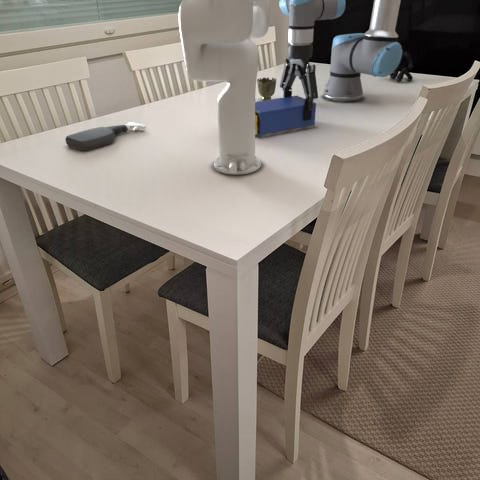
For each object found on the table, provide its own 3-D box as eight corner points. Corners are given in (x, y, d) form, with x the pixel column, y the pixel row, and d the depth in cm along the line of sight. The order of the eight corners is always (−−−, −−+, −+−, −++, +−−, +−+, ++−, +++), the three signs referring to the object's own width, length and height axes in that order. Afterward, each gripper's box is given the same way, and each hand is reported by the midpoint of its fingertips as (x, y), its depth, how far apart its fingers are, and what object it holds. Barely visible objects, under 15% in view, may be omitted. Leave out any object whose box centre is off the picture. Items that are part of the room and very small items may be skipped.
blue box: (260, 137, 138) (260, 112, 134) (243, 127, 147) (243, 103, 143) (314, 127, 146) (316, 103, 142) (295, 118, 155) (296, 95, 150)
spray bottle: (63, 145, 135) (128, 126, 151) (84, 153, 129) (149, 132, 145) (61, 135, 134) (127, 117, 150) (83, 143, 128) (148, 123, 144)
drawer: (238, 138, 136) (238, 118, 132) (224, 129, 143) (223, 110, 140) (305, 125, 145) (306, 107, 142) (288, 117, 152) (289, 99, 149)
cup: (253, 101, 174) (253, 80, 169) (261, 97, 179) (262, 76, 175) (271, 103, 171) (271, 82, 166) (279, 99, 176) (279, 78, 172)
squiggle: (400, 92, 202) (376, 71, 205) (417, 76, 202) (392, 56, 205) (405, 81, 191) (380, 59, 194) (423, 64, 191) (397, 42, 194)
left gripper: (261, 55, 124) (261, 120, 134) (237, 46, 135) (238, 107, 145) (237, 58, 121) (238, 124, 131) (214, 49, 132) (217, 110, 142)
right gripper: (334, 47, 128) (327, 122, 140) (289, 38, 146) (287, 105, 158) (312, 50, 125) (307, 126, 137) (270, 39, 143) (268, 108, 155)
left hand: (238, 115), depth 138 cm, fingers closed
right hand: (296, 115), depth 147 cm, fingers closed on blue box, 11 cm apart
